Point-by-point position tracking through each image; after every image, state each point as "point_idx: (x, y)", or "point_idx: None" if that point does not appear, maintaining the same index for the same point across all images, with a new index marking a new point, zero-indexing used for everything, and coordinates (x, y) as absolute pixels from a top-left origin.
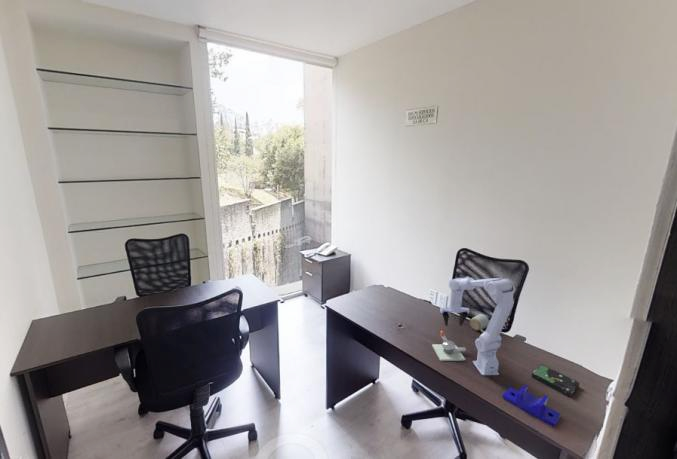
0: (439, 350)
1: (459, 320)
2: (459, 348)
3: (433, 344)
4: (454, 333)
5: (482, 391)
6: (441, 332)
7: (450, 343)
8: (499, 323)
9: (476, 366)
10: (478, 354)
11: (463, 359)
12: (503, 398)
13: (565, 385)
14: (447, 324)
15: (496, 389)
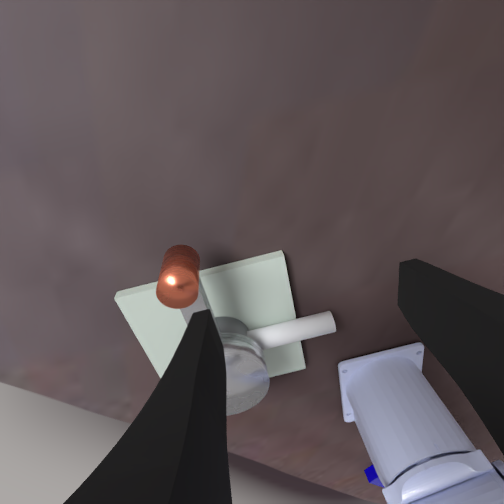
0: (168, 342)
1: (434, 292)
2: (295, 341)
3: (124, 297)
4: (327, 54)
5: (312, 468)
6: (167, 304)
7: (235, 385)
8: None
9: (342, 392)
10: (375, 458)
11: (296, 368)
12: (366, 471)
13: None
14: (224, 373)
15: (363, 451)
